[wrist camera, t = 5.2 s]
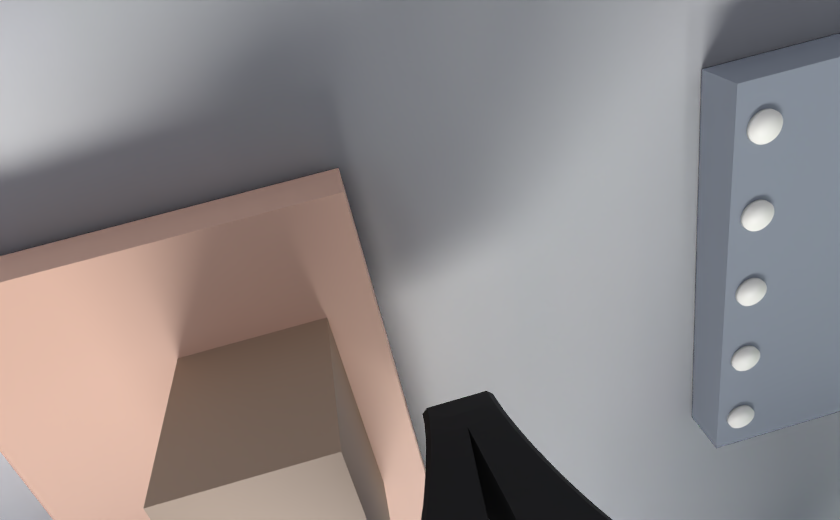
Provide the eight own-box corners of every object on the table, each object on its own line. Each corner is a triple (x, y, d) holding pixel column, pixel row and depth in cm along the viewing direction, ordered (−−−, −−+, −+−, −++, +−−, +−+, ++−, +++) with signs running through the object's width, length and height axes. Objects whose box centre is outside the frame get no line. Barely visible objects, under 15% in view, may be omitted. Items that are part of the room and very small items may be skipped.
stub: (433, 499, 18) (479, 681, 14) (145, 583, 17) (102, 799, 13) (338, 168, 13) (365, 299, 8) (-76, 275, 12) (-261, 471, 8)
